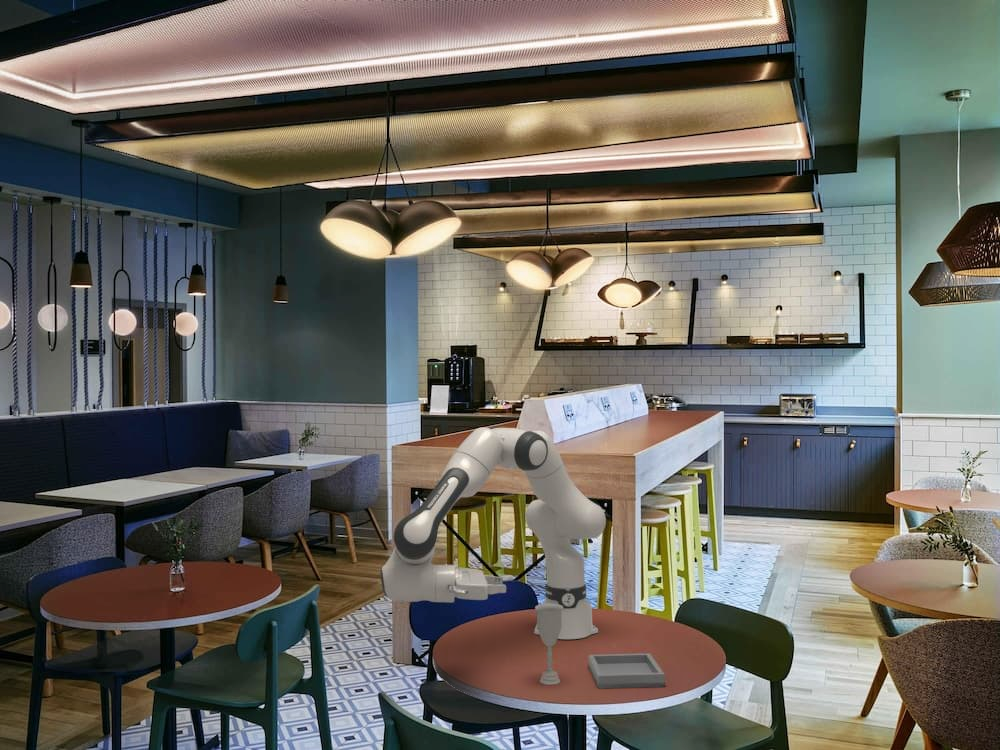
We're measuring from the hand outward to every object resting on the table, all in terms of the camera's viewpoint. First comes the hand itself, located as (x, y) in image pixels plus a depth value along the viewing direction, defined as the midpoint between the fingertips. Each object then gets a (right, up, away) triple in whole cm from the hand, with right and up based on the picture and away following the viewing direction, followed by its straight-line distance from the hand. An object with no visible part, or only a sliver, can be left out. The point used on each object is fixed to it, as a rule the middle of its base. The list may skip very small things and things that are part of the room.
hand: (504, 584), depth 205 cm
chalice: (+11, -24, +1) cm, 26 cm away
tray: (+30, -24, +4) cm, 38 cm away
